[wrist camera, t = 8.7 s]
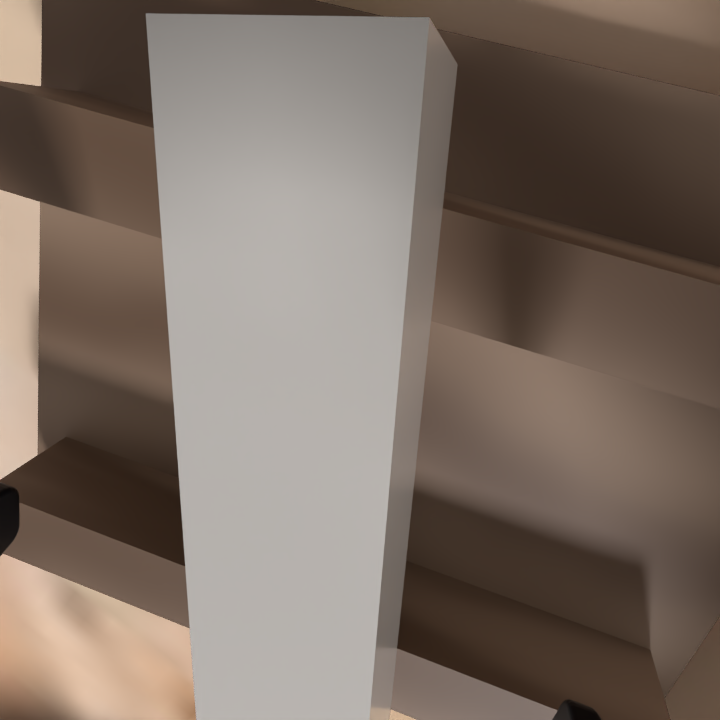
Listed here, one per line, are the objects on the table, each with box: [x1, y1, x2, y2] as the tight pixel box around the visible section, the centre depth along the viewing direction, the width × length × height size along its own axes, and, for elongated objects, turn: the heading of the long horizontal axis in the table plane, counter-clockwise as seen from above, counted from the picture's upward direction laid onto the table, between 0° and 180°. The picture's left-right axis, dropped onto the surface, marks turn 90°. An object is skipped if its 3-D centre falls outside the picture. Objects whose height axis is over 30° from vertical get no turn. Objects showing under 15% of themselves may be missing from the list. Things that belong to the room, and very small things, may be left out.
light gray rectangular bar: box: [146, 13, 458, 720], centre depth 11 cm, size 16×3×4 cm, turn 177°
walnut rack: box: [0, 0, 720, 720], centre depth 14 cm, size 18×20×4 cm
